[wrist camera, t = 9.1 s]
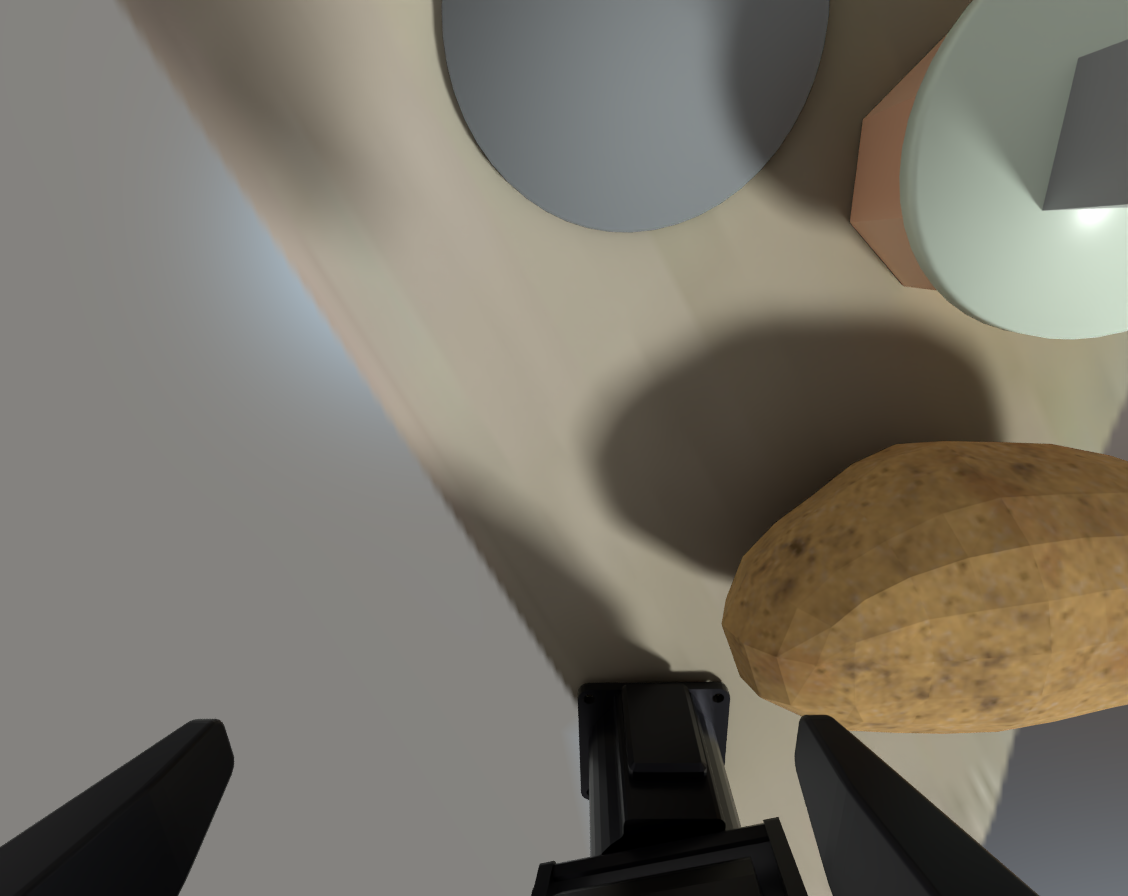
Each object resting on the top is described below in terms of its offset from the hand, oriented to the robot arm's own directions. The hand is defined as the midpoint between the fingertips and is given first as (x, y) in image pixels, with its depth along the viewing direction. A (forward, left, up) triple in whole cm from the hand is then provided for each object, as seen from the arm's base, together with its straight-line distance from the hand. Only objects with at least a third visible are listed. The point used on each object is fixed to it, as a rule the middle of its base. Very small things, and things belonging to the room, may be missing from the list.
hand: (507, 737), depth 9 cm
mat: (+13, -3, -13) cm, 19 cm away
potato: (-4, -13, -13) cm, 19 cm away
